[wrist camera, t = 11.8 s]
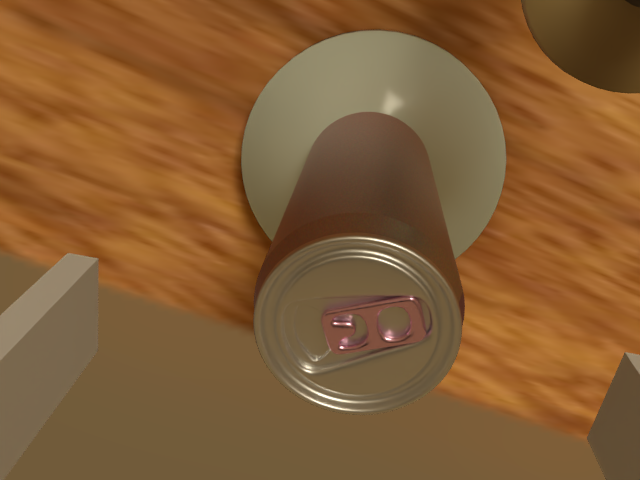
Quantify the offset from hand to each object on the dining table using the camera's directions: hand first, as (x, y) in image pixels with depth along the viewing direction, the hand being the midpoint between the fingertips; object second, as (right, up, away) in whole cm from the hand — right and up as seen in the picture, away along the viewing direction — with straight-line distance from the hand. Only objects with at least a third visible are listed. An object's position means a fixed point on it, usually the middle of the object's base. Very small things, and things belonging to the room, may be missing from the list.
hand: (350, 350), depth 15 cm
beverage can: (+2, +6, +15) cm, 16 cm away
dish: (+2, +7, +16) cm, 17 cm away
